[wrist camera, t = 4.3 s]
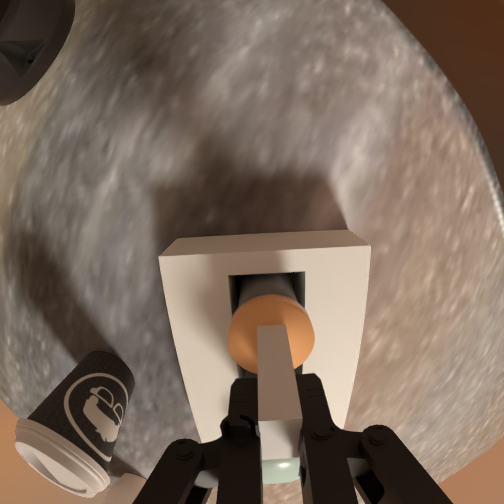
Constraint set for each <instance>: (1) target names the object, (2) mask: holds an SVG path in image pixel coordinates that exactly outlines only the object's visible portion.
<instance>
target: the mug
mask: <svg viewBox="0 0 504 504" xmlns="http://www.w3.org/2000/svg"><path fill="white" fill-rule="evenodd" d="M146 481H147V480H146V479H144V478H142V477H140V476H138V475H135V474H130V473H125V474H123V475H122V476H121V477H120V478H119V479H118V480H117V481H116V482H115V483H114V484H112V485H111V486H110V488H109V489H108V491H107V494H106V496H105V499H104V502H103V504H132V503H133V501H134V500H135V498H136V497H137V495H138V494H139V492H140V491H141V489H142V487H143V486H144V484H145V483H146Z"/></svg>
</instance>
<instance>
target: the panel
mask: <svg viewBox="0 0 504 504" xmlns="http://www.w3.org/2000/svg"><path fill="white" fill-rule="evenodd" d="M370 254H371V245H370V244H368V243H367V242H366V241H364V240H363V239H361V238H360V237H358V236H357V235H356V234H354V233H353V232H351V231H350V230H348V229H347V230H322V231H300V232H279V233H259V234H240V235H223V236H206V237H190V238H177V239H176V240H175V241H174V242H173V243H172V244H171V245H170V246H169V247H168V248H167V249H166V250H165V251H164V252H163V253H162V254H161V255H159V256H158V257H159V264H160V270H161V276H162V282H163V288H164V293H165V299H166V304H167V309H168V314H169V319H170V324H171V329H172V334H173V338H174V343H175V347H176V351H177V356H178V360H179V364H180V368H181V372H182V376H183V380H184V384H185V387H186V391H187V395H188V398H189V402H190V405H191V409H192V412H193V416H194V419H195V422H196V426H197V429H198V432H199V435H200V438H201V441H202V443H206V442H210V441H214V440H216V439H218V438H220V437H221V436H222V434H221V429H220V424H221V421H222V420H223V419H224V418H225V417H226V416H228V408H229V398H230V388H231V385H232V383H233V382H234V381H235V379H236V378H246V372H247V370H244V369H243V368H242V367H241V366H240V365H239V364H237V363H236V362H235V360H234V359H233V358H232V356H231V354H230V352H229V349H228V342H227V339H228V332H229V325H230V321H231V318H232V316H233V314H234V313H235V311H236V310H237V309H238V305H237V293H236V281H235V275H246V274H265V273H283V272H295V295H296V299H297V302H298V303H299V304H300V305H301V306H302V307H303V308H304V309H305V310H306V311H307V313H308V315H309V318H310V321H311V323H312V326H313V329H314V334H315V342H314V347H313V350H312V352H311V354H310V355H309V357H308V358H307V359H306V360H305V361H304V362H303V363H302V364H301V365H300V366H298V367H297V368H295V369H294V372H295V375H297V374H308V373H315V374H316V375H317V376H318V377H319V378H320V379H321V381H322V385H323V389H324V392H325V396H326V399H327V402H328V406H329V410H330V413H331V417H332V420H333V422H334V423H335V425H336V426H338V427H339V428H340V429H343V427H344V423H345V419H346V415H347V411H348V407H349V402H350V398H351V393H352V388H353V384H354V379H355V373H356V368H357V363H358V357H359V351H360V345H361V338H362V332H363V325H364V317H365V309H366V300H367V291H368V280H369V268H370Z"/></svg>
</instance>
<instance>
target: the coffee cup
mask: <svg viewBox="0 0 504 504" xmlns="http://www.w3.org/2000/svg"><path fill="white" fill-rule="evenodd" d="M133 388H134V377H133V375H132V373H131V371H130V370H129V368H128V367H127V366H126V365H125V364H124V363H123V362H122V361H121V360H119V359H118V358H116V357H115V356H113V355H111V354H109V353H106V352H101V351H95V352H91V353H90V354H88V355H87V356H86V357H85V358H84V359H83V360H82V361H81V362H80V363H79V364H78V365H77V366H76V367H75V368H74V370H73V371H72V372H71V373H70V374H69V375H68V376H67V377H66V378H65V379H64V380H63V381H62V382H61V383H60V384H59V385H58V386H57V387H56V388H55V389H54V390H53V391H52V392H51V394H50V395H49V396H48V397H47V398H46V399H45V400H44V401H43V402H42V403H41V404H40V405H39V406H38V407H37V408H36V410H35V411H34V412H33V413H32V414H31V415H30V416H29V417H28V418H27V419H24V418H23V419H19V420H18V422H17V425H16V431H15V434H16V441H15V447H16V449H17V451H18V452H19V454H20V455H21V456H22V457H23V459H24V460H25V461H26V462H27V463H28V464H29V465H30V466H31V467H32V468H34V469H35V470H36V471H37V472H38V473H40V474H41V475H42V476H44V477H45V478H46V479H48V480H49V481H51V482H52V483H54V484H56V485H57V486H59V487H61V488H63V489H65V490H67V491H69V492H71V493H74V494H76V495H79V496H83V497H88V498H91V497H93V496H95V494H96V493H97V492H100V491H102V490H104V489H105V488H106V487H107V486H108V485H109V483H110V478H109V476H108V474H107V472H108V468H109V464H110V460H111V457H112V453H113V450H114V447H115V443H116V440H117V437H118V433H119V430H120V427H121V424H122V421H123V418H124V415H125V412H126V409H127V406H128V403H129V400H130V397H131V394H132V391H133Z"/></svg>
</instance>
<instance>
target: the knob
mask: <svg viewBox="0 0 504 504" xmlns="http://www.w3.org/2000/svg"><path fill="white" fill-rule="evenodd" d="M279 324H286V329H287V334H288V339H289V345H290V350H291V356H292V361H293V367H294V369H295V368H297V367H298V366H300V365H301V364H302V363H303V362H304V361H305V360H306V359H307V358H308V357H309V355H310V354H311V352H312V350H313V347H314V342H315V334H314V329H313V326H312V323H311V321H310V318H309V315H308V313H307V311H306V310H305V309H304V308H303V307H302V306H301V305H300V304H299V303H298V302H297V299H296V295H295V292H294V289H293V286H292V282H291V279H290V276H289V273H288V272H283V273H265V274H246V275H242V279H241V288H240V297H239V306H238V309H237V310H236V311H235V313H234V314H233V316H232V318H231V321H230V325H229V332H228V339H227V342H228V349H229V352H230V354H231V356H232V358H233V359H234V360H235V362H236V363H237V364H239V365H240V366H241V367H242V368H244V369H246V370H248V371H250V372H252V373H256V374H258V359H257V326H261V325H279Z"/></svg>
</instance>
